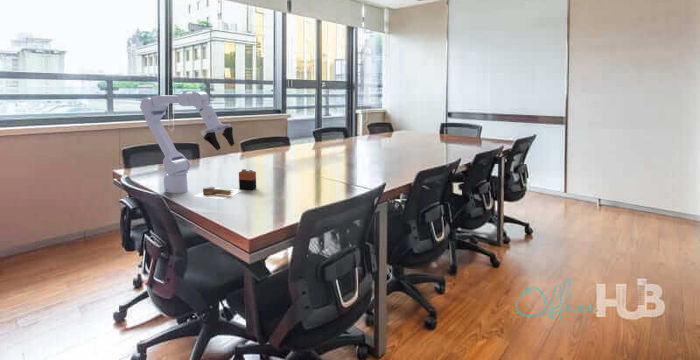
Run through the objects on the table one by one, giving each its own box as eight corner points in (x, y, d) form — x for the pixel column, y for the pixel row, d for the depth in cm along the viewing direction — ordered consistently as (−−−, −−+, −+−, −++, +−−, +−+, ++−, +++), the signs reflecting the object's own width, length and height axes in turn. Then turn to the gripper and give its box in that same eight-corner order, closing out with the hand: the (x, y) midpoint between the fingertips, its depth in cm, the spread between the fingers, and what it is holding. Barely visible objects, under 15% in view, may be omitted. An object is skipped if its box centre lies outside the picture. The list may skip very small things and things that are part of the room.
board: (192, 198, 184) (192, 195, 184) (216, 189, 200) (216, 187, 200) (223, 201, 180) (222, 198, 180) (244, 192, 196) (244, 189, 195)
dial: (200, 194, 187) (200, 189, 186) (207, 191, 192) (207, 186, 191) (226, 197, 183) (226, 191, 182) (233, 194, 188) (233, 189, 187)
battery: (243, 189, 201) (242, 168, 199) (256, 190, 200) (256, 169, 198) (239, 191, 197) (238, 170, 195) (252, 192, 196) (251, 171, 194)
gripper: (201, 117, 170) (217, 147, 170) (228, 111, 181) (243, 139, 181) (192, 125, 174) (208, 154, 174) (220, 118, 185) (234, 146, 186)
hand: (226, 147), depth 178 cm, fingers open, 7 cm apart
